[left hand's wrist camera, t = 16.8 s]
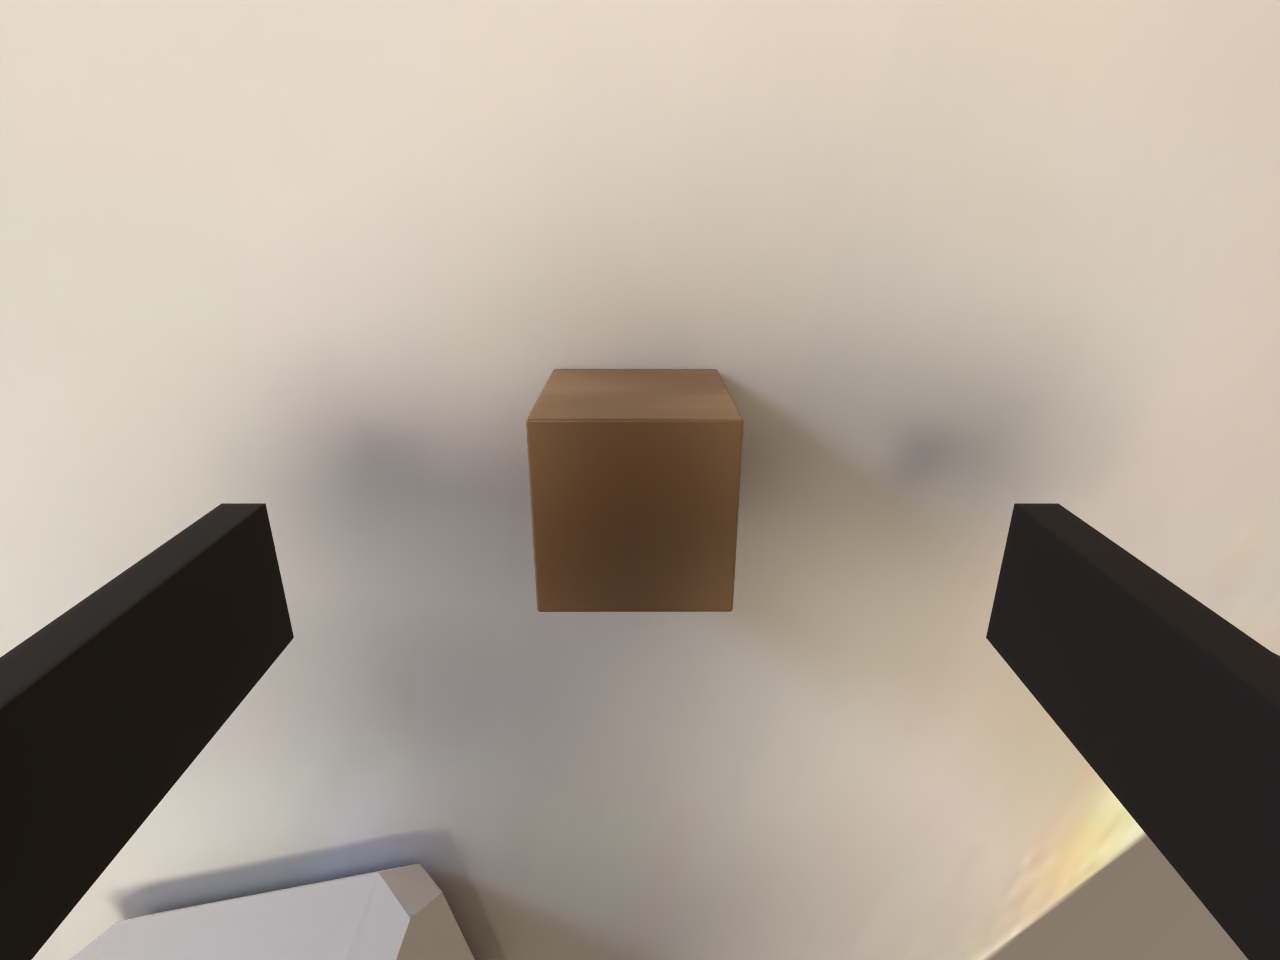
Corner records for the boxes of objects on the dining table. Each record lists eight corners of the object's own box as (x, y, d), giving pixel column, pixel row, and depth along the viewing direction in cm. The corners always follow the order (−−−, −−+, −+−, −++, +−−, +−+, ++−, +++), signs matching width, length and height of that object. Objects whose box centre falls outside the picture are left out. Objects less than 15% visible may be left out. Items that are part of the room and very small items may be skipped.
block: (717, 369, 18) (743, 418, 13) (711, 522, 19) (732, 612, 15) (552, 369, 18) (525, 419, 13) (559, 523, 19) (537, 612, 15)
